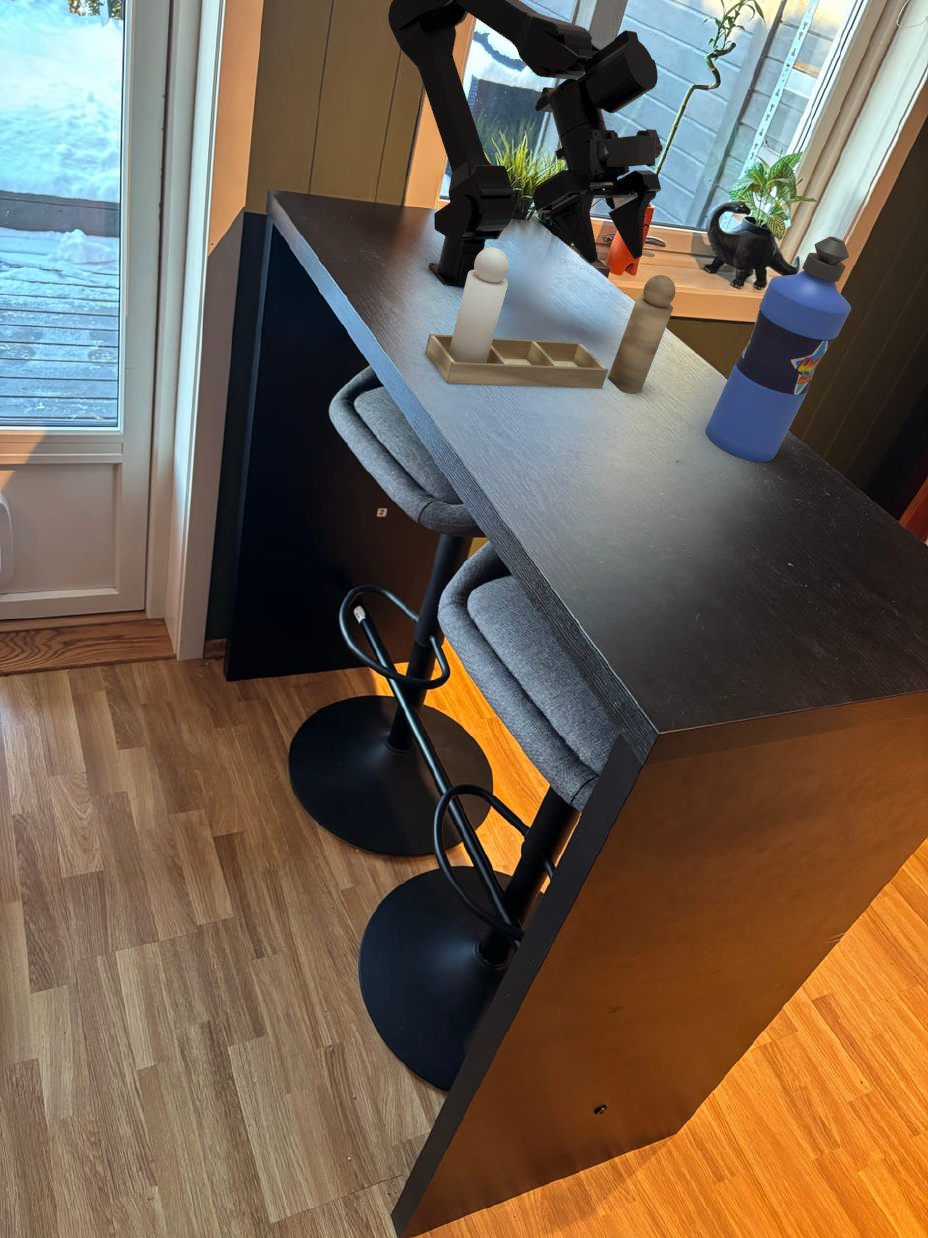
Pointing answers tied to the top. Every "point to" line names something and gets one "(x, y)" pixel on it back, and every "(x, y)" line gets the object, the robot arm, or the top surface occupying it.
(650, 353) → the pepper mill
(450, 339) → the caddy
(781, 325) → the water bottle
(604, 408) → the top surface
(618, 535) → the top surface
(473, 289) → the salt mill
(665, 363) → the top surface
